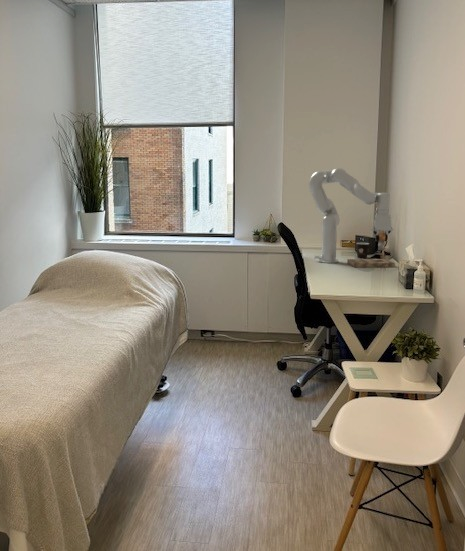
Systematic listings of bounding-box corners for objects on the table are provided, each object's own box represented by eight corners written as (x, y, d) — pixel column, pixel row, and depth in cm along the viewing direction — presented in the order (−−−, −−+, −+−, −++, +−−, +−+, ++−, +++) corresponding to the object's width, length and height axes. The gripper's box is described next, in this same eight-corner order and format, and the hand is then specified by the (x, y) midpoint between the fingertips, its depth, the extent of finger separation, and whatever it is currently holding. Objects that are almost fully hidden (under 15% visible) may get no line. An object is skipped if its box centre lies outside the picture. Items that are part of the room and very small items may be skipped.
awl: (378, 250, 340) (379, 233, 338) (376, 249, 345) (377, 232, 343) (385, 250, 340) (386, 233, 338) (383, 249, 345) (384, 232, 343)
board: (354, 267, 336) (354, 263, 335) (347, 263, 351) (347, 259, 351) (394, 266, 337) (395, 262, 337) (386, 262, 353) (386, 258, 352)
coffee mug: (353, 257, 374) (353, 243, 372) (361, 256, 379) (361, 242, 377) (366, 259, 365) (367, 245, 363) (374, 258, 370) (375, 244, 368)
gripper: (371, 213, 334) (370, 242, 337) (397, 212, 335) (396, 241, 338) (367, 212, 341) (366, 240, 345) (393, 211, 342) (392, 240, 346)
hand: (381, 240), depth 342 cm, fingers closed on awl, 4 cm apart
